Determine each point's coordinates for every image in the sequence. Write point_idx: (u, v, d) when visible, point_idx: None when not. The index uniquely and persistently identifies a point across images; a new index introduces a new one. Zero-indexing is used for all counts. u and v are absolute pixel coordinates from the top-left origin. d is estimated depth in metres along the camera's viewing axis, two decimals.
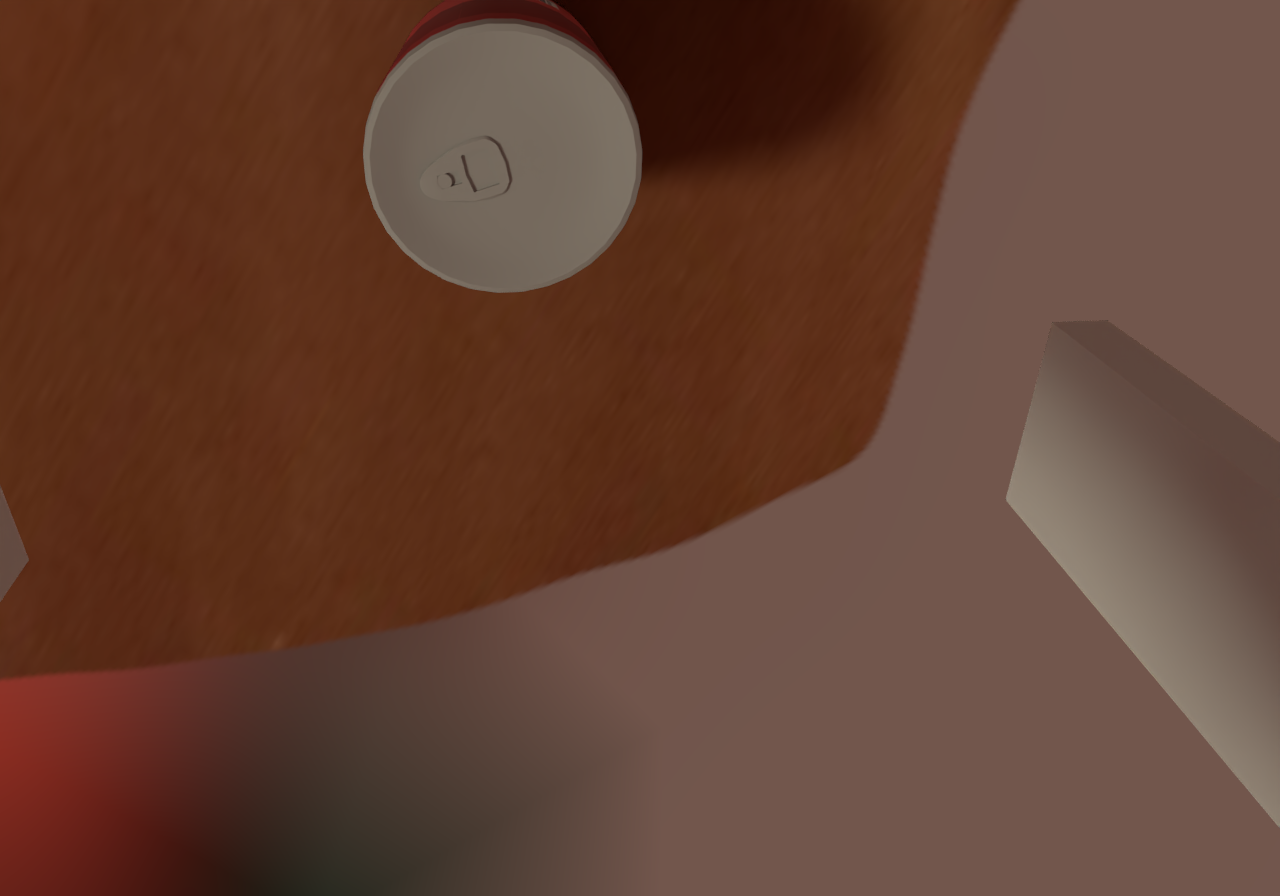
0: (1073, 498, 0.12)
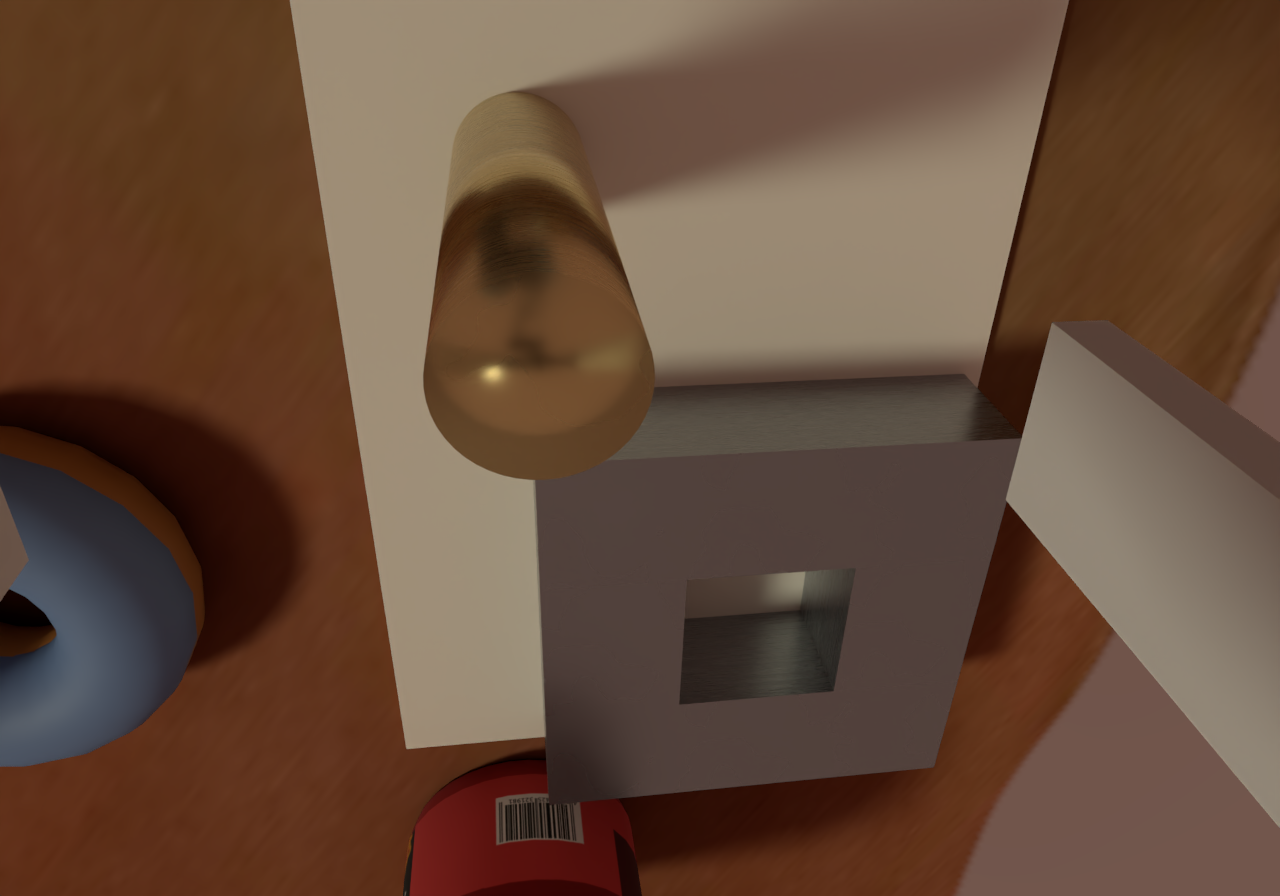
0: (1074, 499, 0.12)
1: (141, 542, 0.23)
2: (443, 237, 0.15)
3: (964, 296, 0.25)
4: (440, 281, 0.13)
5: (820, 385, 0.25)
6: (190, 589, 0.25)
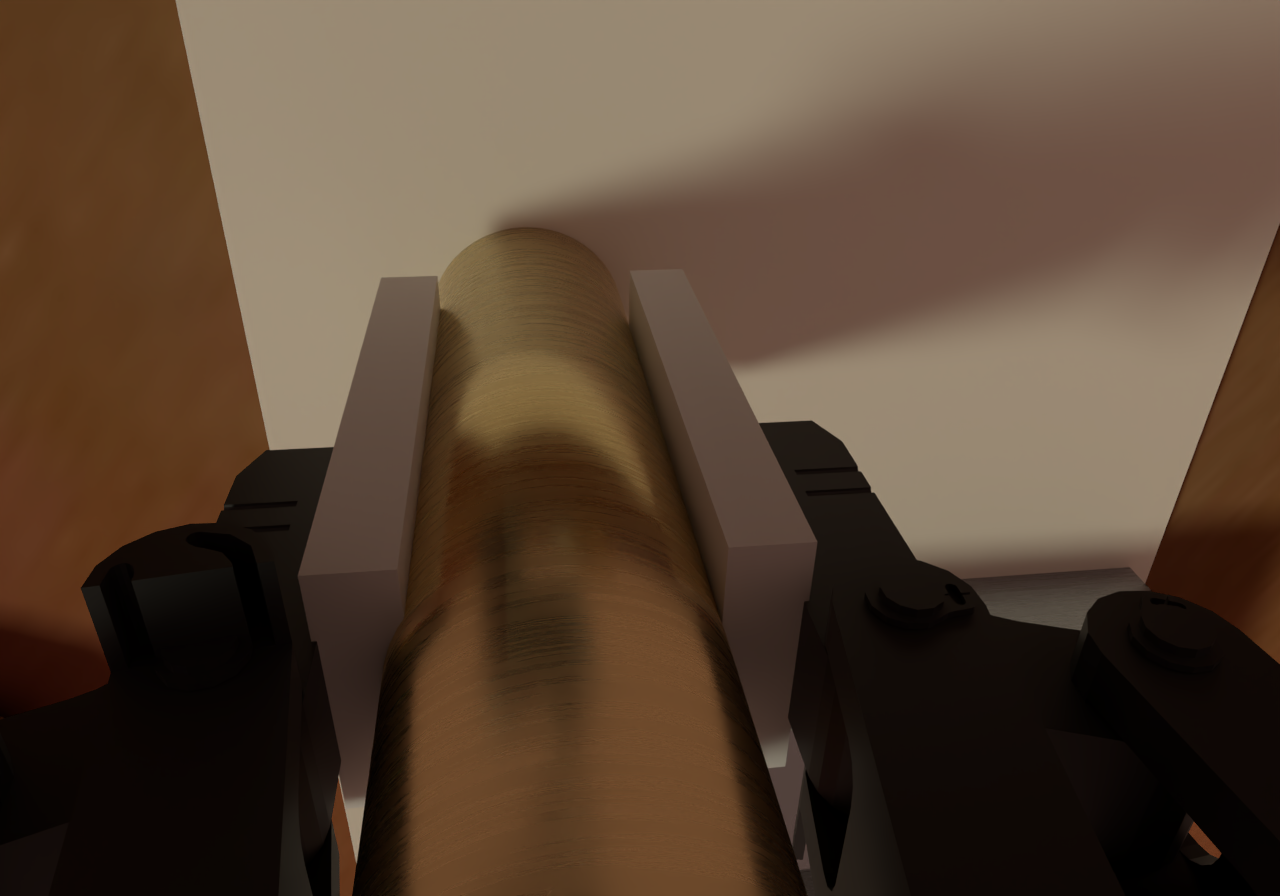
0: None
1: None
2: None
3: (1140, 474, 0.18)
4: (382, 745, 0.07)
5: None
6: None
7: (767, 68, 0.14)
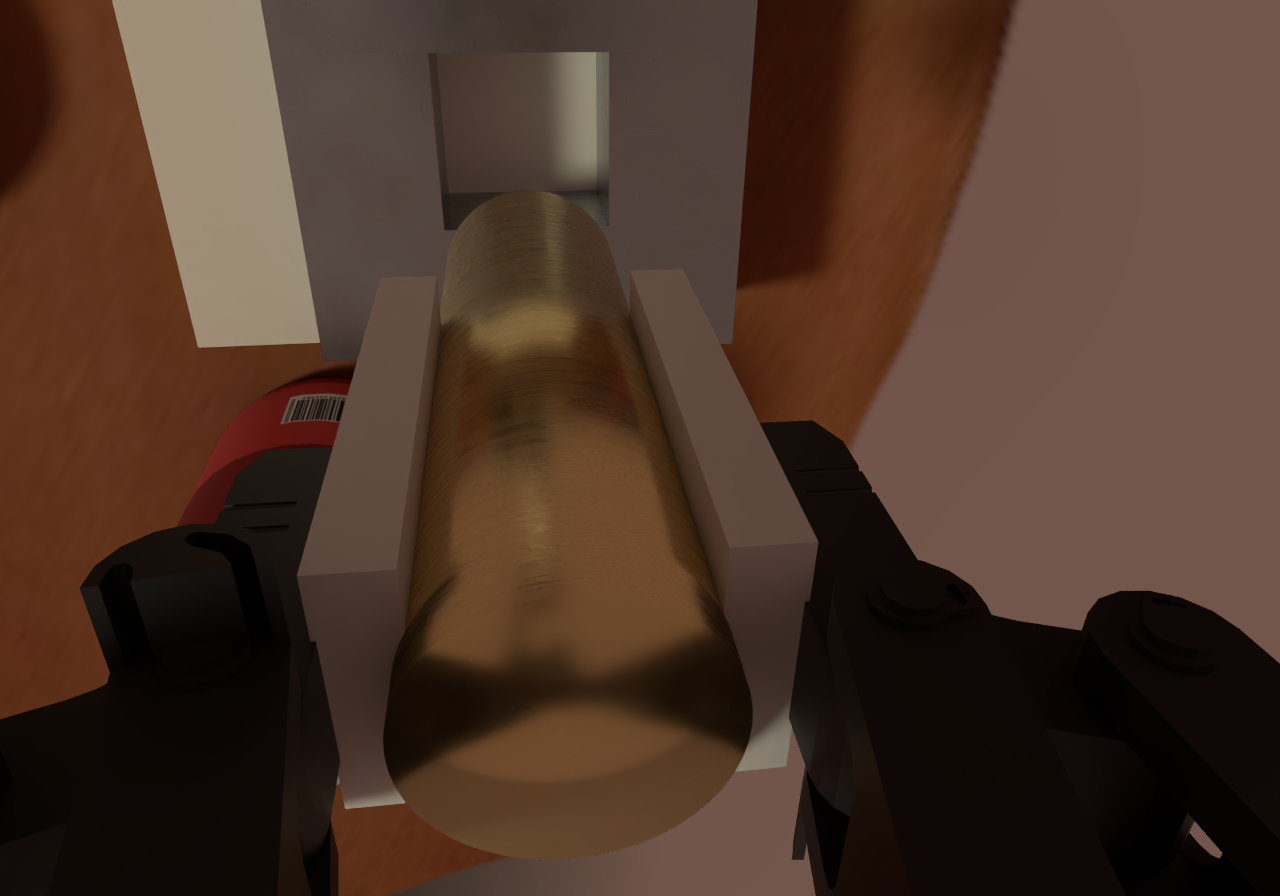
0: None
1: None
2: None
3: None
4: (416, 546, 0.09)
5: None
6: None
7: None
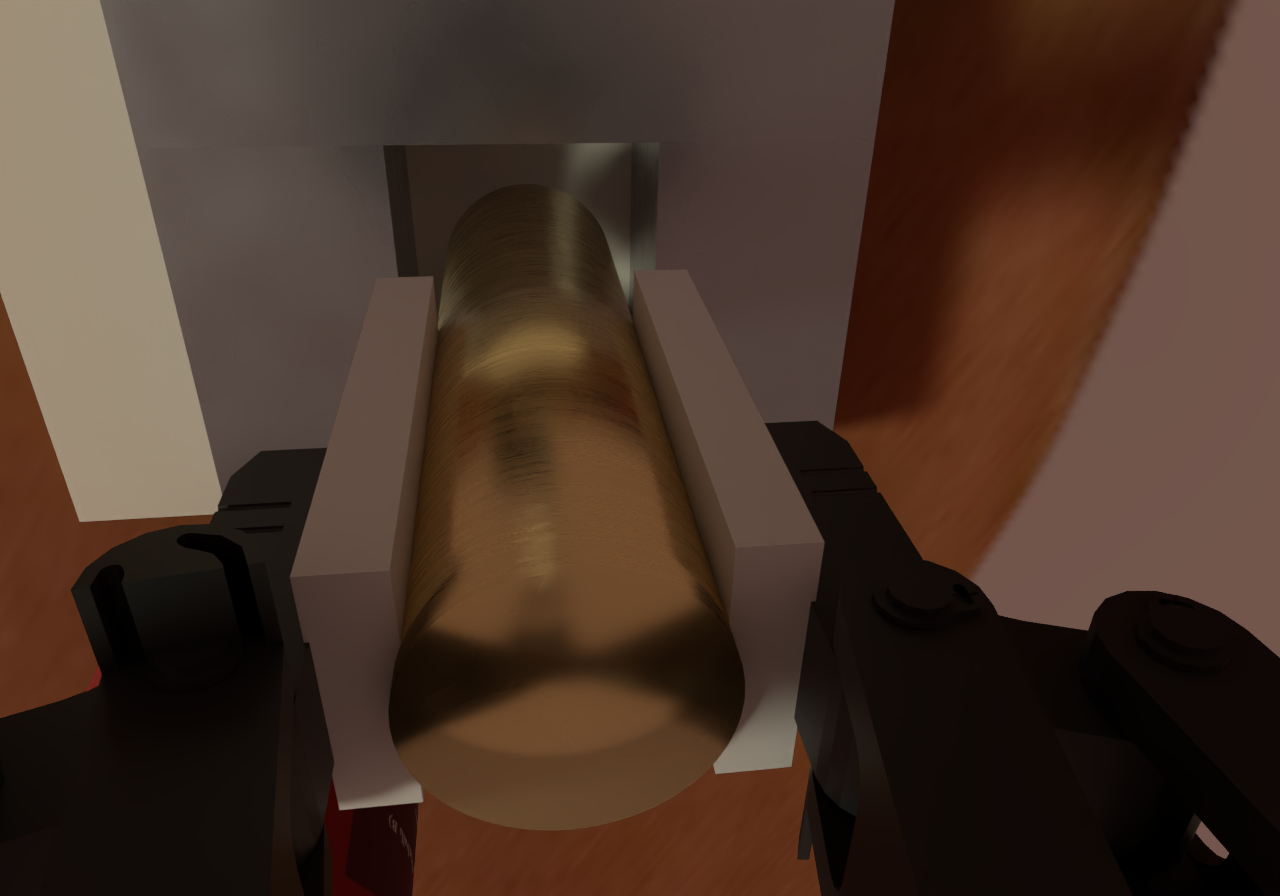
0: None
1: None
2: (428, 425, 0.11)
3: None
4: (420, 527, 0.09)
5: None
6: None
7: None
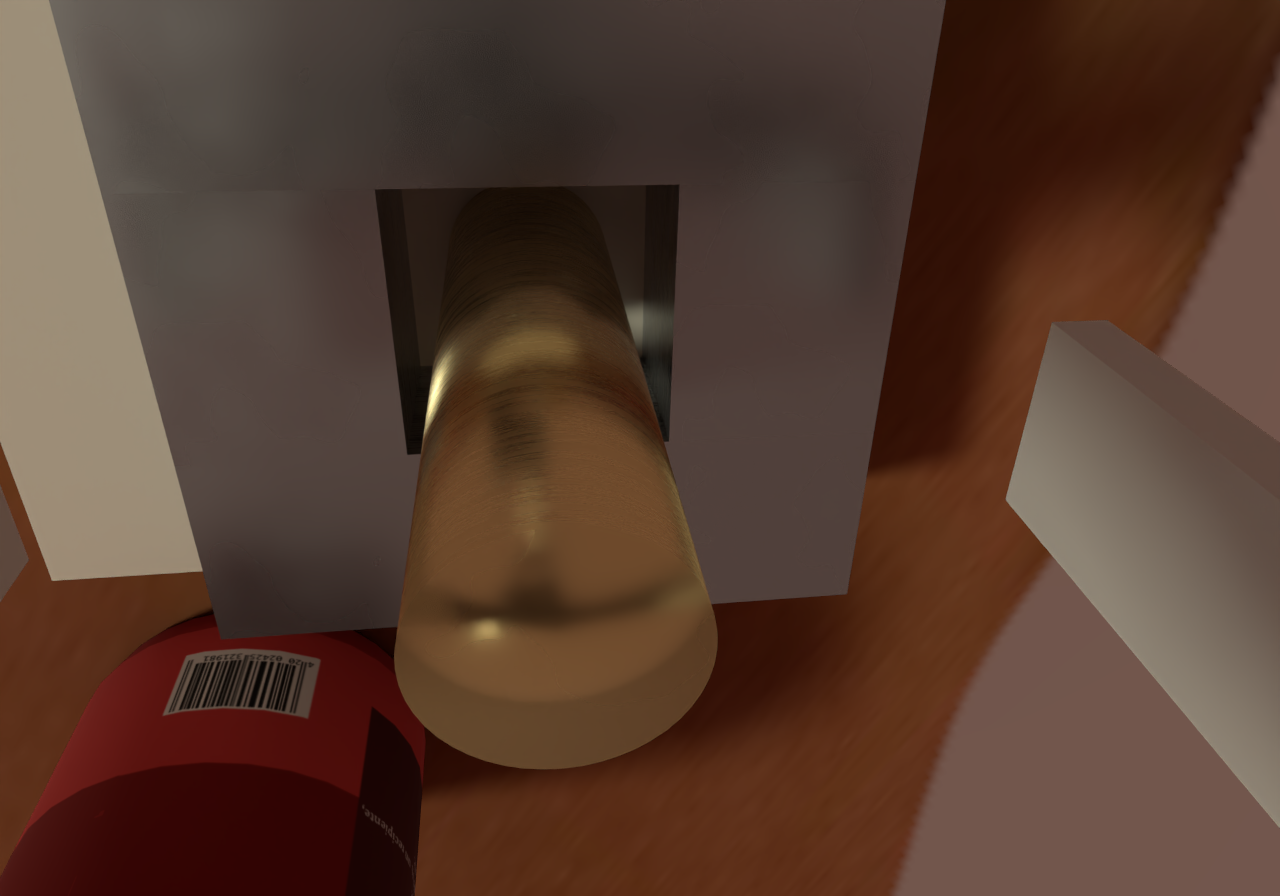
0: (1073, 498, 0.12)
1: None
2: (431, 402, 0.12)
3: None
4: (423, 493, 0.10)
5: None
6: None
7: None
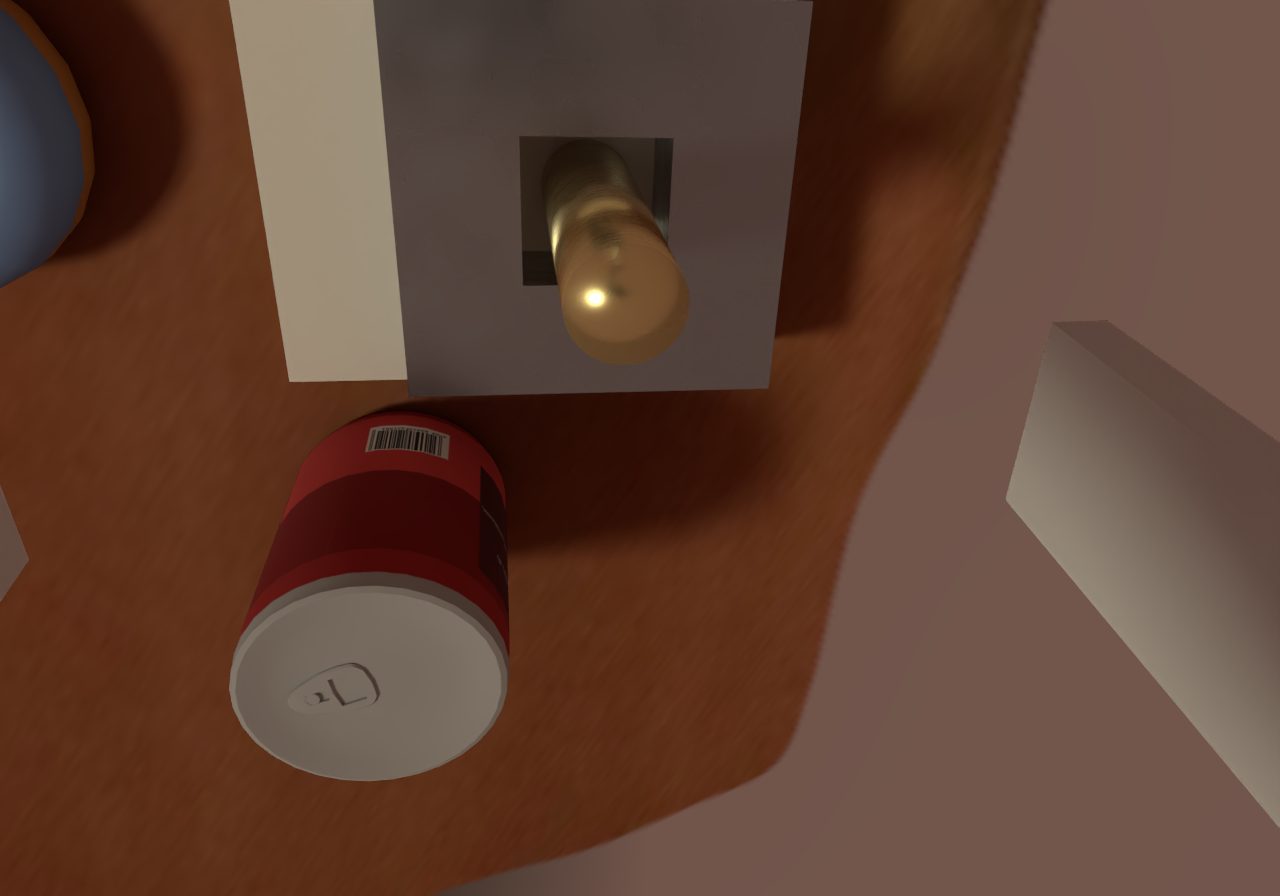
0: (1075, 499, 0.12)
1: (28, 52, 0.26)
2: (558, 228, 0.25)
3: None
4: (566, 250, 0.23)
5: None
6: (76, 123, 0.27)
7: None
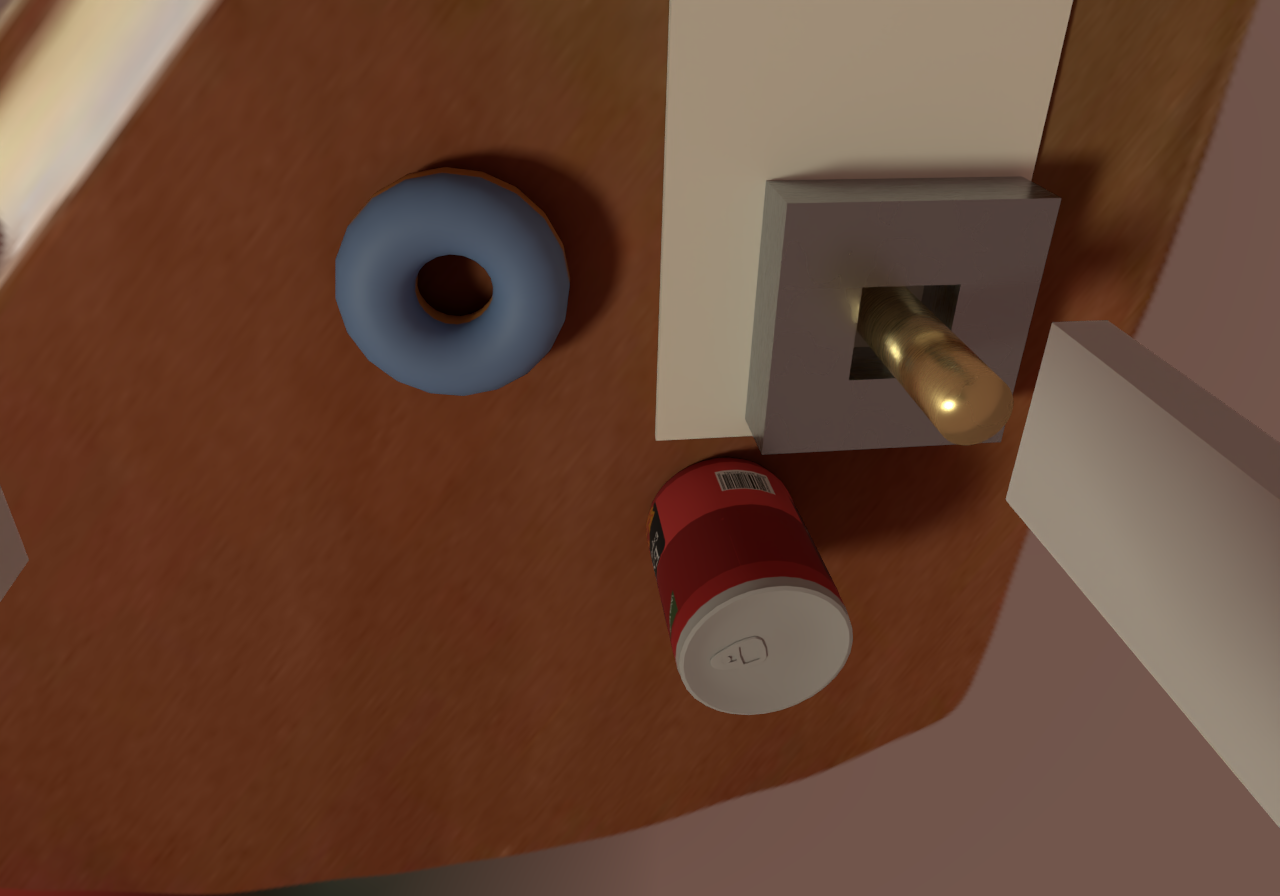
0: (1074, 499, 0.12)
1: (554, 241, 0.40)
2: (906, 353, 0.39)
3: (1023, 124, 0.42)
4: (928, 374, 0.37)
5: (937, 179, 0.42)
6: (568, 280, 0.41)
7: None
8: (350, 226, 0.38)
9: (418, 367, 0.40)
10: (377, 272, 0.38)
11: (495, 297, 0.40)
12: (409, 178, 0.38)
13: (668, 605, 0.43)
